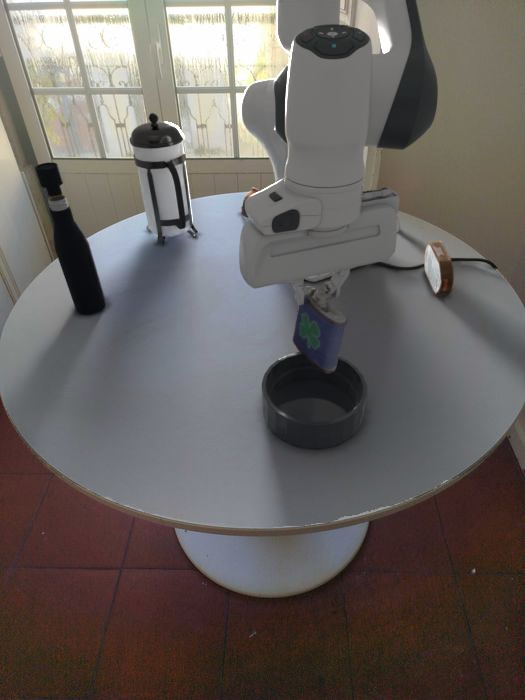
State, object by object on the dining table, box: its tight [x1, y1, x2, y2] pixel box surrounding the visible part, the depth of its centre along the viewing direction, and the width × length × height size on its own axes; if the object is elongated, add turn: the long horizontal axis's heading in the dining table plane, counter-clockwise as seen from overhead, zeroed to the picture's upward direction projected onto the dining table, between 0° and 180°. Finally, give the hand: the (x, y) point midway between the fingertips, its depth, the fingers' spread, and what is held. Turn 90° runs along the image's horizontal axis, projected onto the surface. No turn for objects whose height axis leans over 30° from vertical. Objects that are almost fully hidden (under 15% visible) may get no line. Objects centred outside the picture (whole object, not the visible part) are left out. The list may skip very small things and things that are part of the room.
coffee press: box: [129, 112, 199, 245], centre depth 117 cm, size 17×16×30 cm
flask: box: [292, 285, 348, 373], centre depth 64 cm, size 9×3×11 cm, turn 29°
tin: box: [423, 239, 455, 296], centre depth 102 cm, size 15×3×8 cm, turn 178°
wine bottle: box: [34, 162, 107, 316], centre depth 92 cm, size 6×6×30 cm
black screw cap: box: [261, 351, 368, 449], centre depth 75 cm, size 16×16×6 cm
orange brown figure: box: [240, 186, 262, 219], centre depth 133 cm, size 12×10×8 cm
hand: (317, 298), depth 63 cm, fingers closed on flask, 3 cm apart
